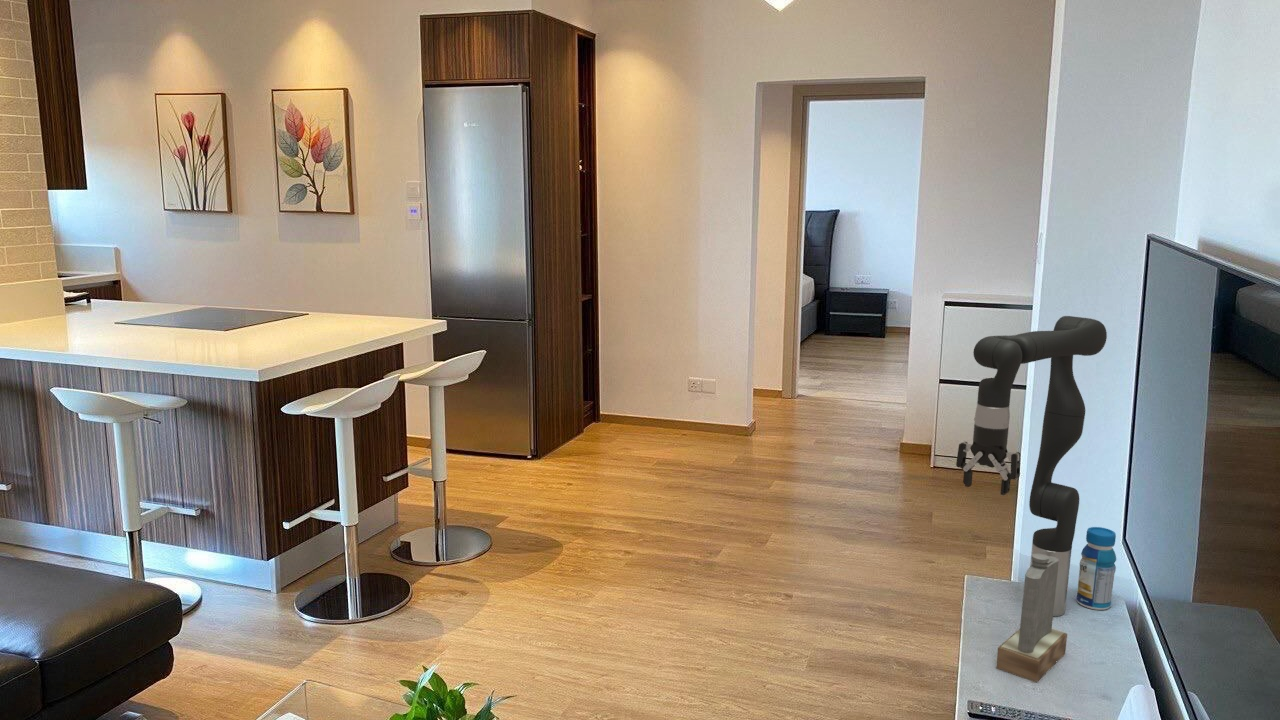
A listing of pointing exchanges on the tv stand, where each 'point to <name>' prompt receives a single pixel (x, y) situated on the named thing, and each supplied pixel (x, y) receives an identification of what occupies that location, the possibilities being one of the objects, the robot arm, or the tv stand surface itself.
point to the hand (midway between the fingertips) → (985, 490)
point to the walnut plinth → (1031, 655)
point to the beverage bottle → (1097, 569)
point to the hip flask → (1038, 601)
